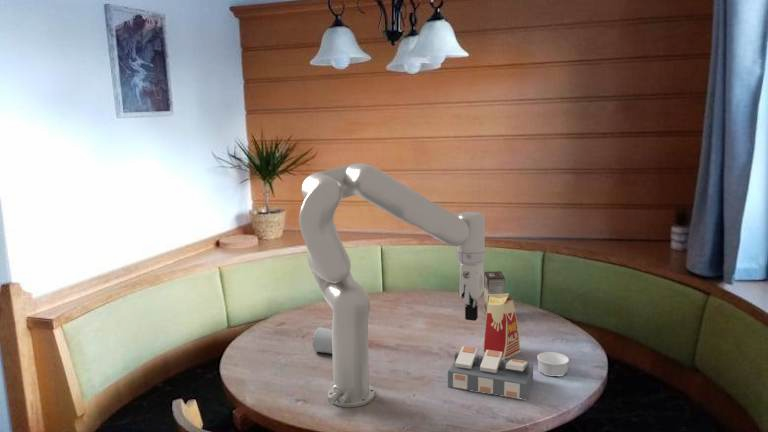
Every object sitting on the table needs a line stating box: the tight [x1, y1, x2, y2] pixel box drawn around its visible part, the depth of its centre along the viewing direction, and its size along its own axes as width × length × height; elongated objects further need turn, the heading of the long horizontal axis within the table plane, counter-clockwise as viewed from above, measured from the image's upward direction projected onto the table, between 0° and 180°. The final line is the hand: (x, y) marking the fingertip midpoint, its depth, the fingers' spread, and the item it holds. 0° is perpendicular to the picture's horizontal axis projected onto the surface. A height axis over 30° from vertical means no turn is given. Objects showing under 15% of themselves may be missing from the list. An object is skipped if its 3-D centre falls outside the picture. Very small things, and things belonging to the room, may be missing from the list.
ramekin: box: [536, 351, 570, 375], centre depth 167 cm, size 9×9×4 cm
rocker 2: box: [506, 358, 528, 371], centre depth 157 cm, size 8×4×1 cm, turn 157°
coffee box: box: [483, 270, 506, 317], centre depth 212 cm, size 9×6×16 cm
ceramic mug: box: [312, 326, 332, 355], centre depth 184 cm, size 11×8×8 cm
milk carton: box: [482, 292, 521, 360], centre depth 179 cm, size 9×9×20 cm
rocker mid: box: [480, 350, 502, 373], centre depth 159 cm, size 8×4×1 cm, turn 156°
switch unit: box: [447, 352, 534, 399], centre depth 160 cm, size 13×21×7 cm, turn 67°
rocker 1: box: [454, 345, 479, 369], centre depth 162 cm, size 8×4×1 cm, turn 157°
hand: (471, 319), depth 163 cm, fingers closed
